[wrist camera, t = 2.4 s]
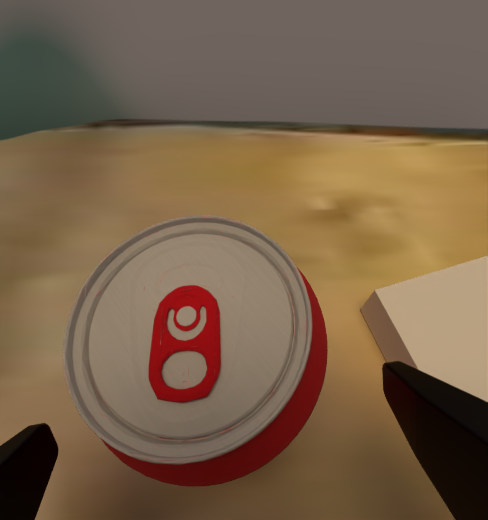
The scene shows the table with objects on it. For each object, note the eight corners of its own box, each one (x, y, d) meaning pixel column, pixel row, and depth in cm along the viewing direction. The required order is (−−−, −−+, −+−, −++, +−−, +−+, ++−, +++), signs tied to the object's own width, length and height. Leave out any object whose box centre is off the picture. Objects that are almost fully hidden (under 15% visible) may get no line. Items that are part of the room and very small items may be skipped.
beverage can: (291, 325, 18) (315, 185, 8) (306, 446, 15) (382, 497, 4) (188, 332, 18) (74, 209, 8) (183, 453, 15) (-13, 513, 5)
